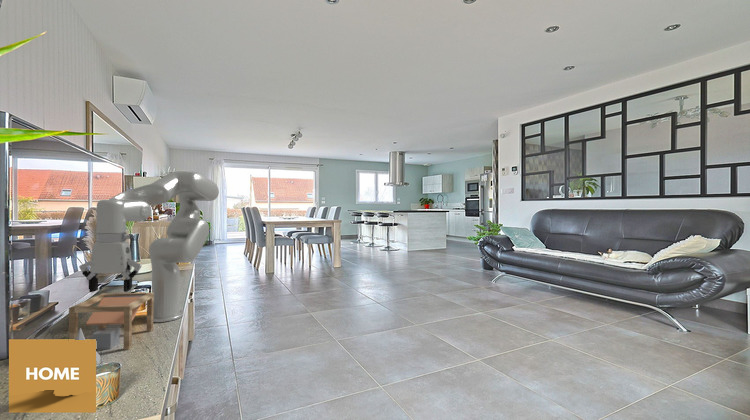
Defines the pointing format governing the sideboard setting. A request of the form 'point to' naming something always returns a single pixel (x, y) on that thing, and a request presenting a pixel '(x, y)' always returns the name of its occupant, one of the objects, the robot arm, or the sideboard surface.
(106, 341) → the grey cube
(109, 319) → the trapdoor
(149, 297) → the frame
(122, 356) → the sideboard surface
